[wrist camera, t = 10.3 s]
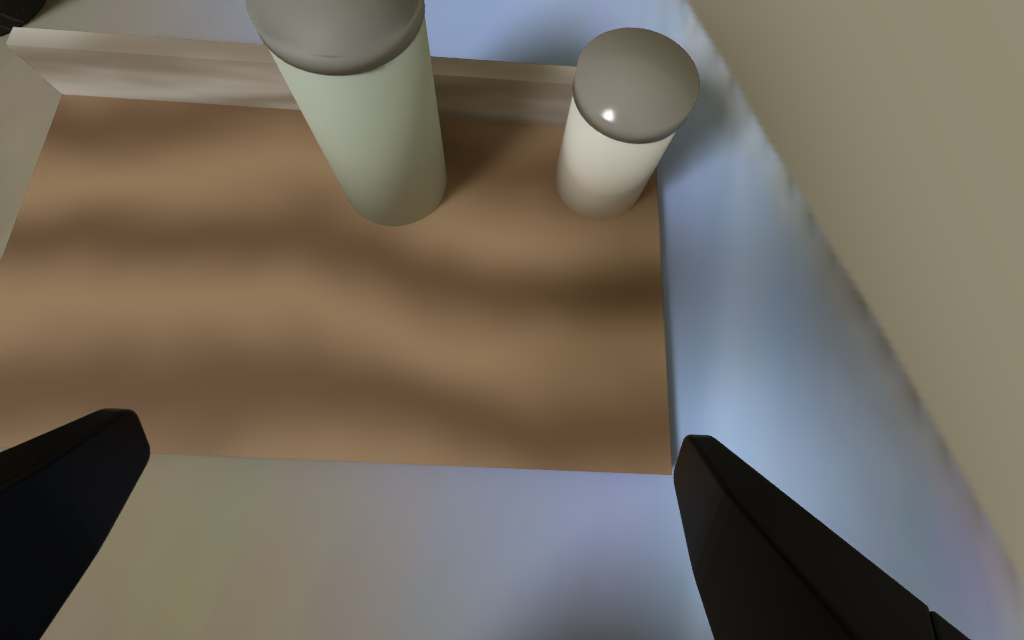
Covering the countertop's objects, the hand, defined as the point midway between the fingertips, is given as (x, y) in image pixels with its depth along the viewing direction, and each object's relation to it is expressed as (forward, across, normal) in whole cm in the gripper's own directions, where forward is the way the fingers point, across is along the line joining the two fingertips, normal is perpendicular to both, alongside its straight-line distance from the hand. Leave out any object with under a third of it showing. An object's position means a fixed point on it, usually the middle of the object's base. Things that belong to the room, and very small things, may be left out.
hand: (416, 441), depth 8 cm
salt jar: (+19, -6, -1) cm, 20 cm away
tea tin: (+18, +4, 0) cm, 19 cm away
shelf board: (+16, +6, +4) cm, 17 cm away
